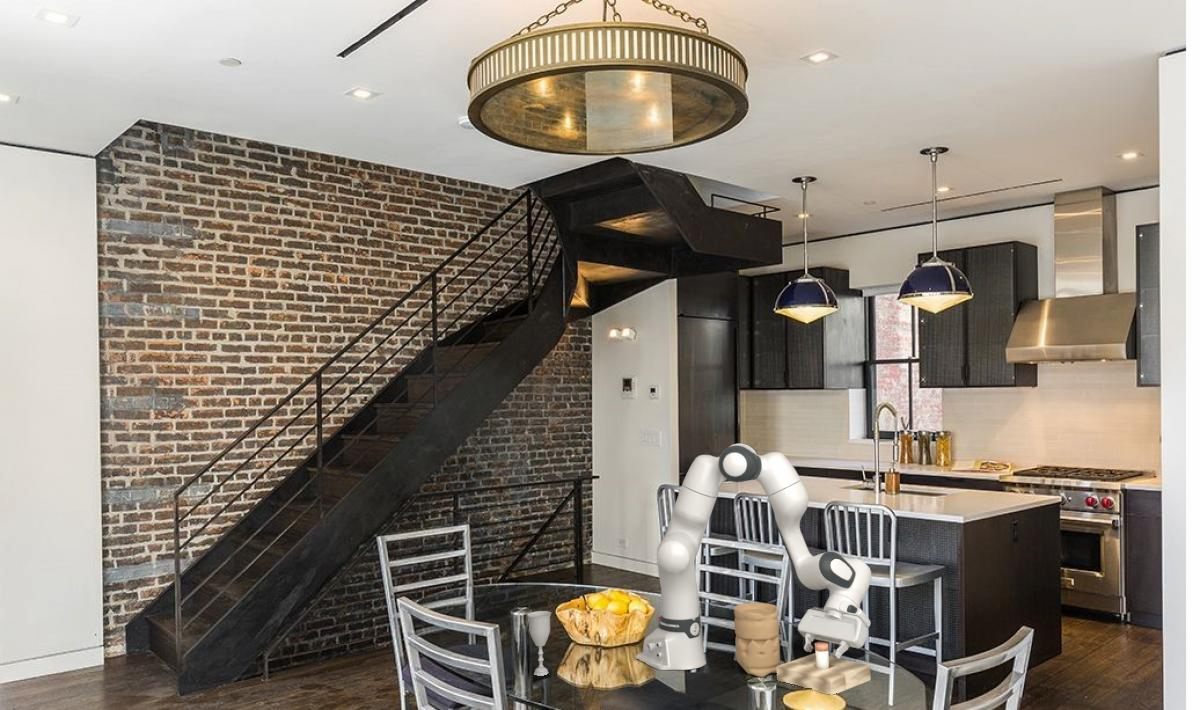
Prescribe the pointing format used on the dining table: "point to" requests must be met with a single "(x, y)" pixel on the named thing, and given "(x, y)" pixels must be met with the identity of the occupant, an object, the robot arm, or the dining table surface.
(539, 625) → the chalice
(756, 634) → the container
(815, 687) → the socket block
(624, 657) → the dining table surface
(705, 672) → the dining table surface
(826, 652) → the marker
